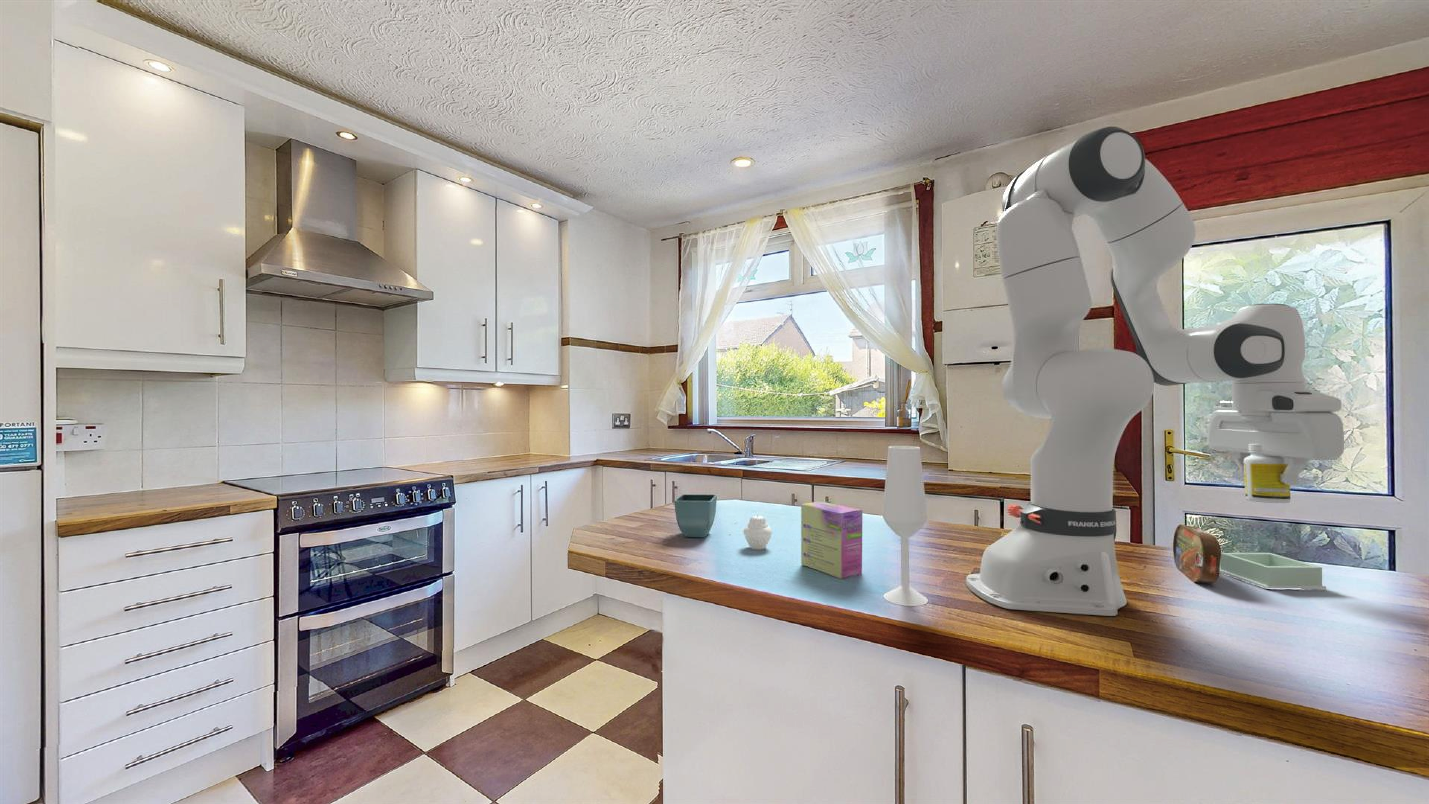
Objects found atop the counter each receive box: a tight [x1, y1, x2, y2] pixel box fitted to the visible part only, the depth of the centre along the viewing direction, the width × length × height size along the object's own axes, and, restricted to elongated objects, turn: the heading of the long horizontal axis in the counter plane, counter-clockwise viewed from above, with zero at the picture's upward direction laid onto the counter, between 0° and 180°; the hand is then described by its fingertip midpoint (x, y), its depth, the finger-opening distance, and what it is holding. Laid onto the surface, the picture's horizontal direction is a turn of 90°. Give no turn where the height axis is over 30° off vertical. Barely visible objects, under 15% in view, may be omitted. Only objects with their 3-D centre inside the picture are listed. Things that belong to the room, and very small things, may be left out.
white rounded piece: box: [743, 514, 773, 551], centre depth 117 cm, size 6×6×7 cm
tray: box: [1219, 552, 1327, 591], centre depth 93 cm, size 9×9×4 cm
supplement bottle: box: [1244, 444, 1291, 504], centre depth 93 cm, size 5×5×10 cm
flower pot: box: [673, 493, 718, 539], centre depth 129 cm, size 9×9×9 cm
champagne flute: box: [882, 445, 929, 607], centre depth 87 cm, size 7×7×24 cm
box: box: [800, 500, 863, 580], centre depth 102 cm, size 10×6×12 cm, turn 34°
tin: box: [1172, 523, 1222, 585], centre depth 96 cm, size 15×3×8 cm, turn 154°
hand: (1267, 481), depth 93 cm, fingers closed on supplement bottle, 5 cm apart
